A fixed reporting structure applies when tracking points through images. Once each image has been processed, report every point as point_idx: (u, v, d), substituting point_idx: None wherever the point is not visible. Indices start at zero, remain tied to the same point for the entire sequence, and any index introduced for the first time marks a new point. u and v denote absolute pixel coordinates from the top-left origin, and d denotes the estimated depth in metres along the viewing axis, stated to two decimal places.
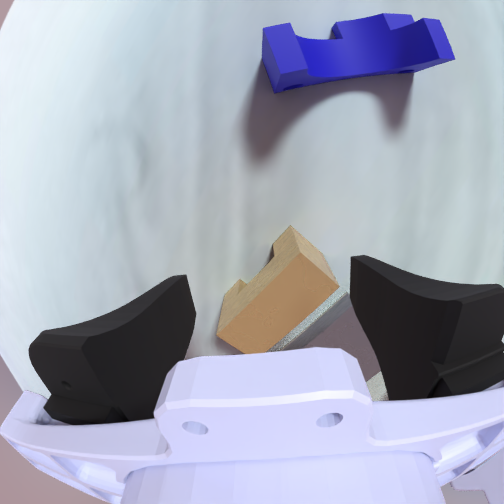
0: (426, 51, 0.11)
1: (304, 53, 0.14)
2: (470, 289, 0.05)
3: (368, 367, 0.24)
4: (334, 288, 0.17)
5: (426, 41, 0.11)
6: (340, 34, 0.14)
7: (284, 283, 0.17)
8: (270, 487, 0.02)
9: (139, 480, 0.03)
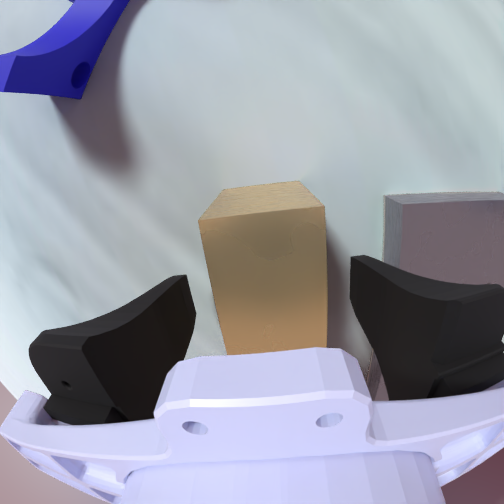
0: None
1: (40, 46, 0.07)
2: (470, 289, 0.05)
3: (496, 262, 0.11)
4: (319, 217, 0.08)
5: None
6: None
7: (233, 284, 0.08)
8: (270, 487, 0.02)
9: (139, 480, 0.03)
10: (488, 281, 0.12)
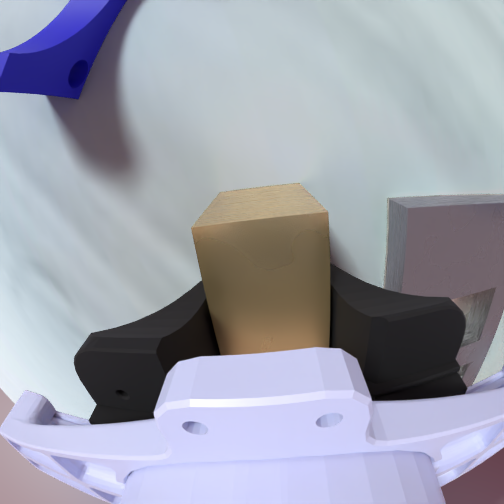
0: None
1: (35, 43, 0.06)
2: (413, 302, 0.05)
3: (501, 266, 0.11)
4: (322, 224, 0.07)
5: None
6: None
7: (230, 295, 0.08)
8: (270, 487, 0.02)
9: (139, 480, 0.03)
10: (493, 286, 0.11)
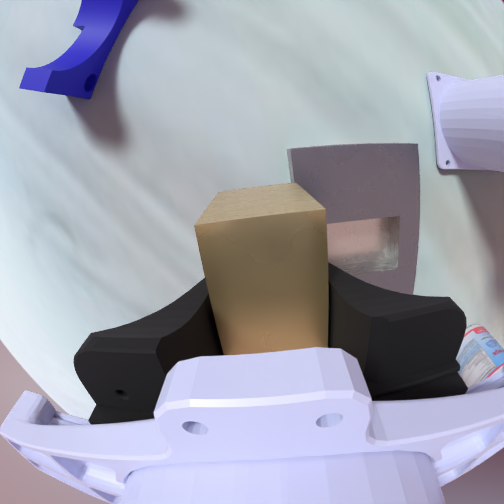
0: None
1: (62, 63, 0.13)
2: (413, 302, 0.05)
3: (400, 197, 0.17)
4: (320, 221, 0.07)
5: None
6: (82, 26, 0.13)
7: (231, 291, 0.08)
8: (270, 487, 0.02)
9: (139, 480, 0.03)
10: (395, 214, 0.17)
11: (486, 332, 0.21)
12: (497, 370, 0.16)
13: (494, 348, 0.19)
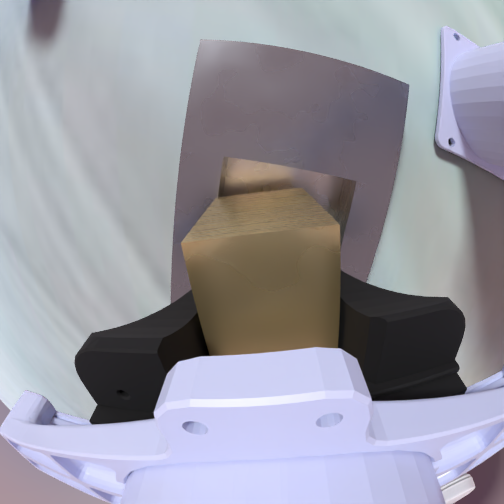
0: None
1: None
2: (412, 303, 0.05)
3: (364, 151, 0.10)
4: (333, 239, 0.06)
5: None
6: None
7: (226, 318, 0.07)
8: (270, 487, 0.02)
9: (138, 480, 0.03)
10: (349, 176, 0.11)
11: None
12: None
13: None
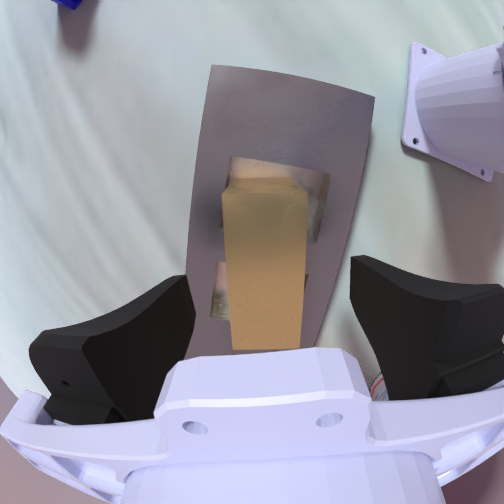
0: None
1: None
2: (470, 289, 0.05)
3: (337, 151, 0.14)
4: (303, 200, 0.11)
5: None
6: None
7: (240, 242, 0.12)
8: (270, 487, 0.02)
9: (139, 480, 0.03)
10: (326, 170, 0.14)
11: None
12: None
13: None
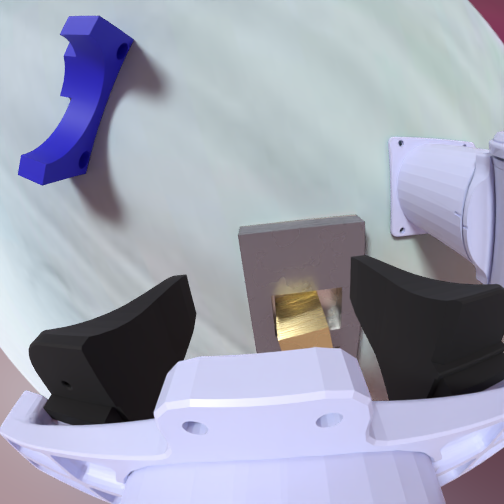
0: (88, 40, 0.12)
1: (55, 145, 0.16)
2: (470, 289, 0.05)
3: (343, 271, 0.20)
4: (327, 331, 0.18)
5: (79, 38, 0.11)
6: (69, 97, 0.16)
7: None
8: (270, 487, 0.02)
9: (138, 480, 0.03)
10: (337, 286, 0.21)
11: None
12: None
13: None
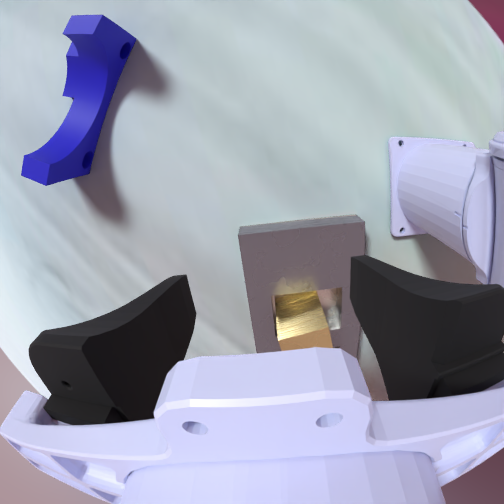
0: (91, 39, 0.12)
1: (58, 145, 0.16)
2: (470, 289, 0.05)
3: (343, 271, 0.20)
4: (327, 331, 0.18)
5: (82, 37, 0.11)
6: (72, 97, 0.16)
7: None
8: (270, 487, 0.02)
9: (138, 480, 0.03)
10: (337, 286, 0.21)
11: None
12: None
13: None
